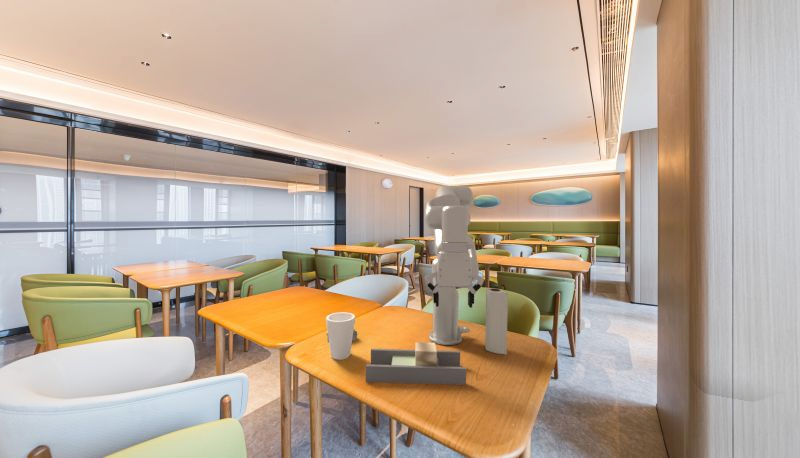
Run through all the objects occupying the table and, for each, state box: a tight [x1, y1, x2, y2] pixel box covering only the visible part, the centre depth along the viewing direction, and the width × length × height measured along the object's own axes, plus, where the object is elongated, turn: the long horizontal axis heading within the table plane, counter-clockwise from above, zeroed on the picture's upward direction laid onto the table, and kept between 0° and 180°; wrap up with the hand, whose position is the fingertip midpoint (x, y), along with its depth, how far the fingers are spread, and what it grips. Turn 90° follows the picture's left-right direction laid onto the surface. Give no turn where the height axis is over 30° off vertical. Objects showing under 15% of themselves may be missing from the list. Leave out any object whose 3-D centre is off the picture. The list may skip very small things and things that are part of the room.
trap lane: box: [365, 348, 467, 386], centre depth 87 cm, size 28×11×4 cm, turn 88°
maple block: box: [414, 341, 437, 366], centre depth 87 cm, size 6×6×5 cm
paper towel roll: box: [484, 287, 509, 356], centre depth 102 cm, size 7×6×21 cm
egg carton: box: [326, 329, 360, 343], centre depth 110 cm, size 11×8×4 cm
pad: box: [392, 355, 415, 366], centre depth 87 cm, size 7×9×3 cm
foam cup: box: [325, 311, 356, 360], centre depth 98 cm, size 10×9×13 cm
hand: (453, 305), depth 86 cm, fingers open, 9 cm apart
